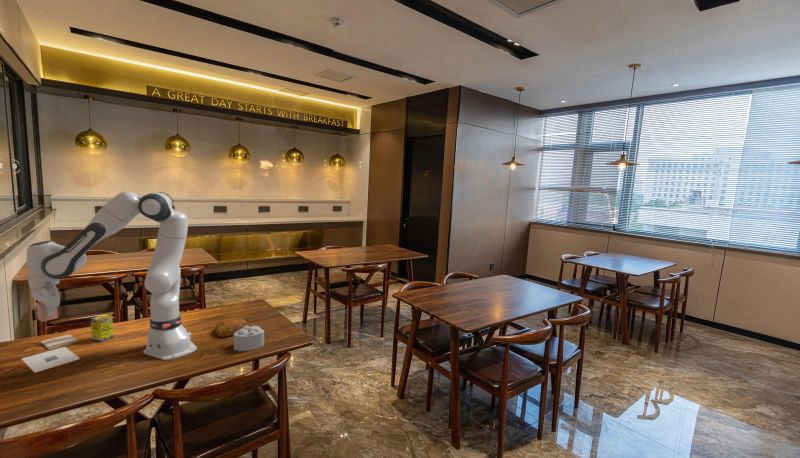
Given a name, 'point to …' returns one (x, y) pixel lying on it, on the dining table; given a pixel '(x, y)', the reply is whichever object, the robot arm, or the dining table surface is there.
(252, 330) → the lumpy-topped squat cylinder
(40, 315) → the terracotta block
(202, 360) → the dining table surface
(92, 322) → the supplement box
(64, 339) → the coaster
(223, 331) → the croissant
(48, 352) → the mat
